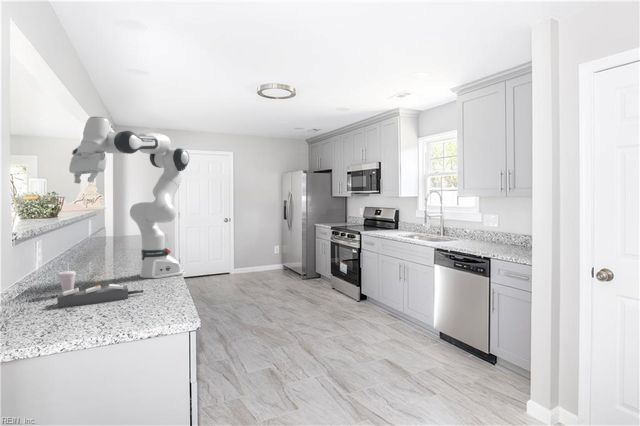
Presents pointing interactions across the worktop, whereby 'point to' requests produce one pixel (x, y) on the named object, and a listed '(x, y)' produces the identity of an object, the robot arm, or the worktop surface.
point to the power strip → (94, 296)
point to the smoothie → (67, 279)
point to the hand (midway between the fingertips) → (83, 182)
